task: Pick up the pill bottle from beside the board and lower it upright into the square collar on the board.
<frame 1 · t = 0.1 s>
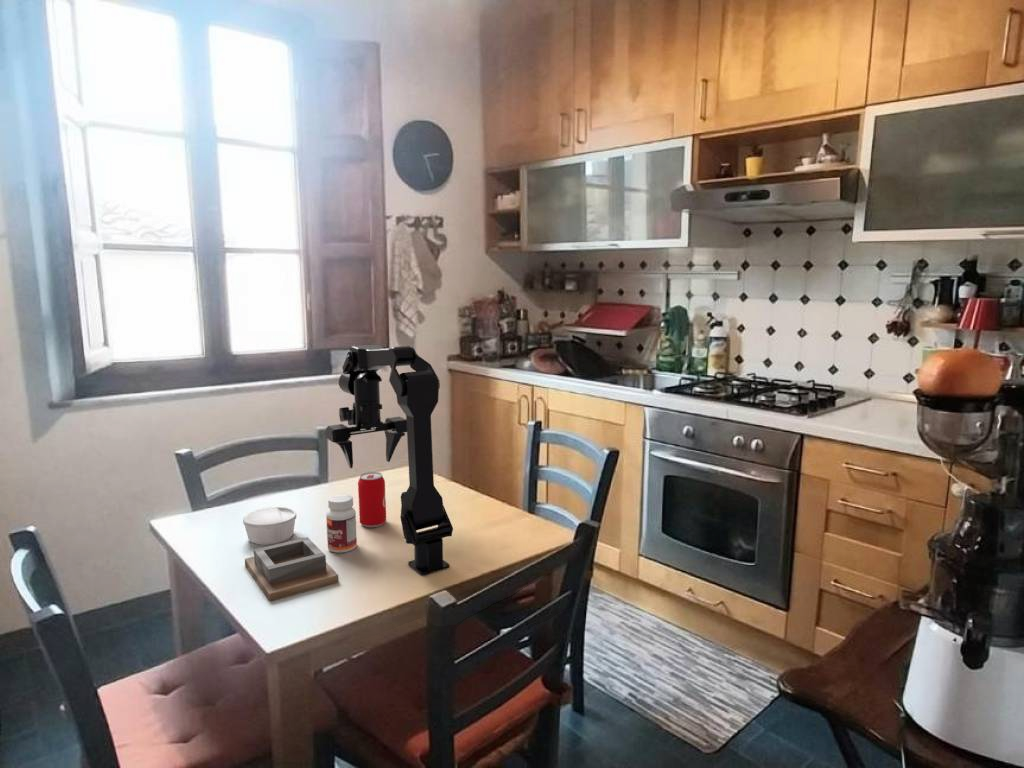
hand: (369, 464, 152), 15 cm above the table, tool pointing down, fingers open, 9 cm apart
pill bottle: (342, 548, 141), on the table
socket board: (290, 573, 129), on the table
beverage can: (373, 524, 155), on the table
ramekin: (271, 538, 147), on the table
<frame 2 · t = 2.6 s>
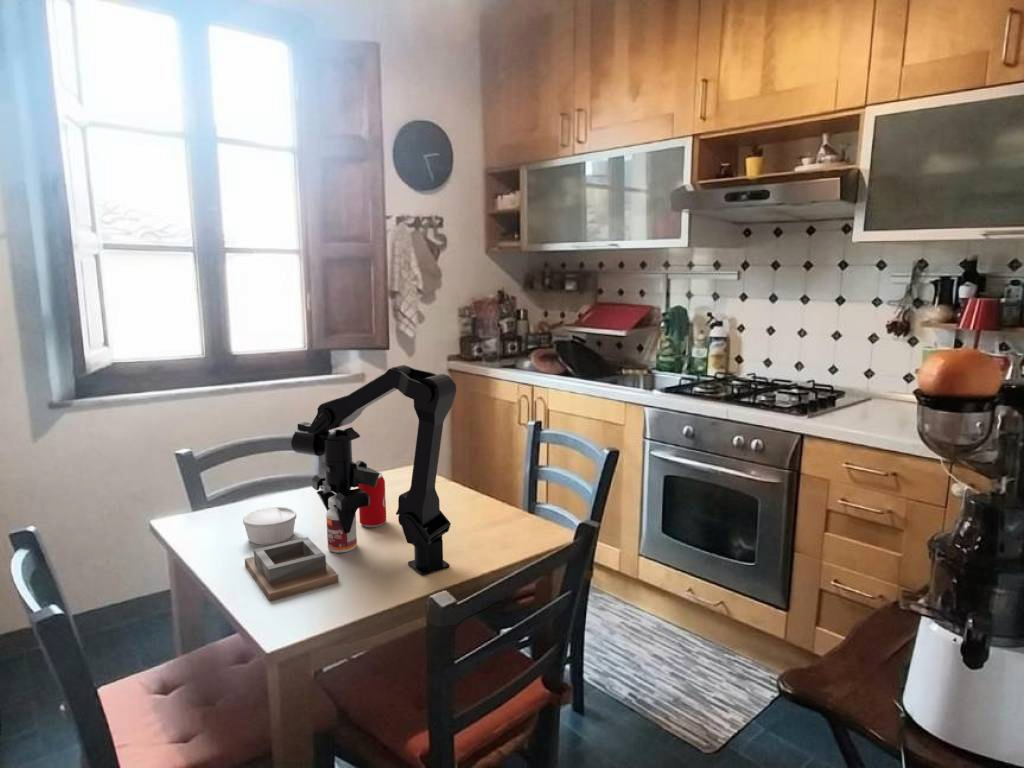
hand: (341, 527, 141), 5 cm above the table, tool pointing down, fingers closed on pill bottle, 6 cm apart
pill bottle: (342, 548, 141), on the table, touching gripper
everything else where it was.
when the fingers open (7 cm above the table, at t = 6.8 s): pill bottle stays where it is, resting on socket board.
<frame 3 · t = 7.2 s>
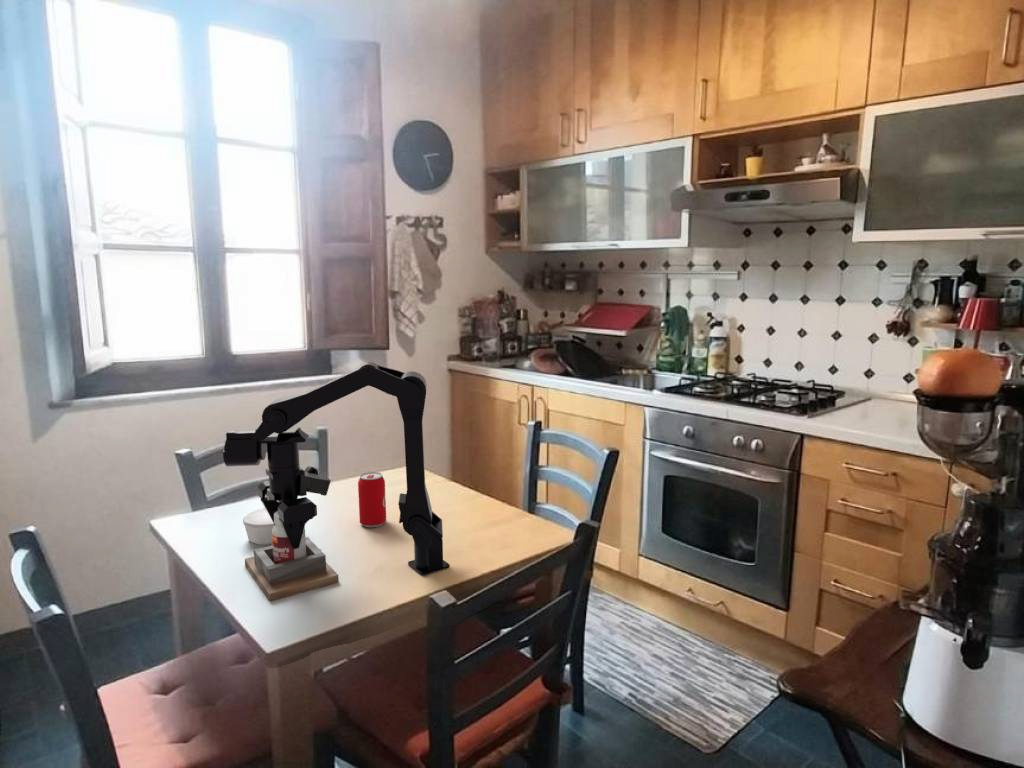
hand: (288, 540, 128), 7 cm above the table, tool pointing down, fingers open, 9 cm apart
pill bottle: (290, 567, 129), point 1 cm above the table, touching socket board
everything else where it was.
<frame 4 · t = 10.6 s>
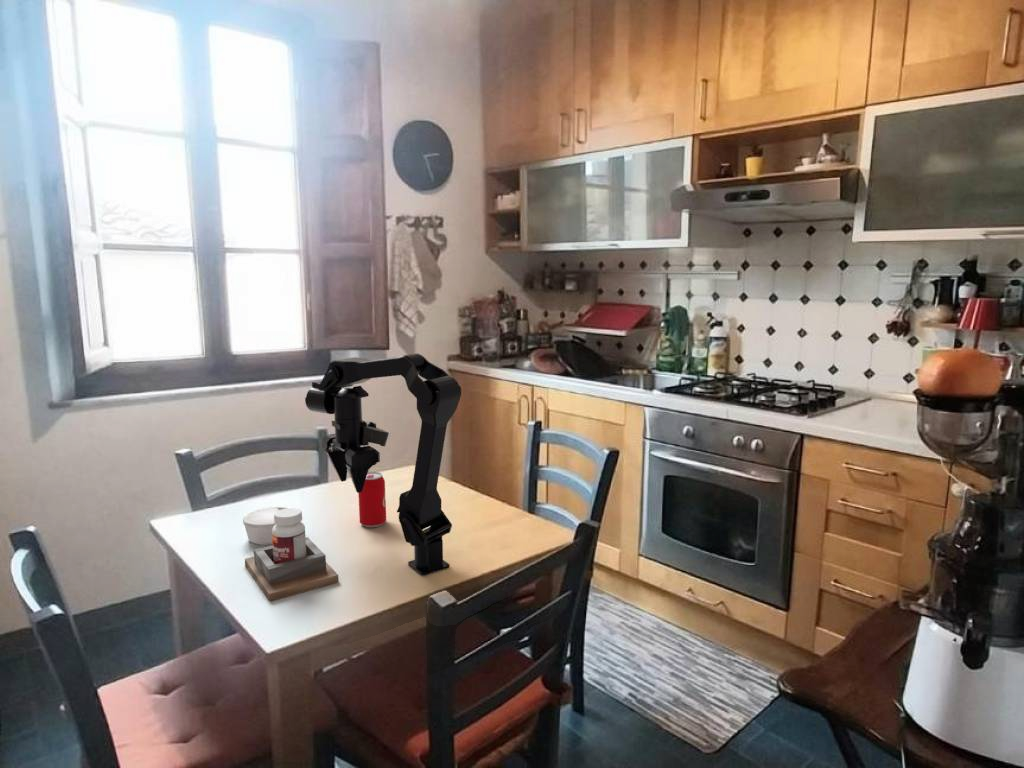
hand: (351, 486, 142), 13 cm above the table, tool pointing down, fingers open, 9 cm apart
nothing on the table moved.
at the end: pill bottle 0.2 cm off-centre on the socket board, point 1.3 cm above the socket board's base; pill bottle tilted 0°; the gripper is holding nothing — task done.
